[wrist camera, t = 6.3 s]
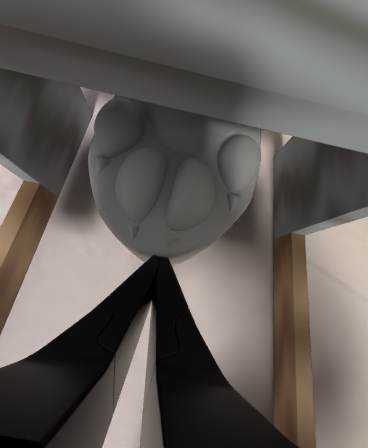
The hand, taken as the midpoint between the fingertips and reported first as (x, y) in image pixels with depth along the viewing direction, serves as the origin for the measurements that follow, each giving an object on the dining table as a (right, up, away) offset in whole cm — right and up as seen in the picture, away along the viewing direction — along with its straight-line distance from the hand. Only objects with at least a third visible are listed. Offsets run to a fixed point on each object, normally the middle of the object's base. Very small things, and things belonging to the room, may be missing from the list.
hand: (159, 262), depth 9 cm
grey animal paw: (0, +4, +9) cm, 10 cm away
